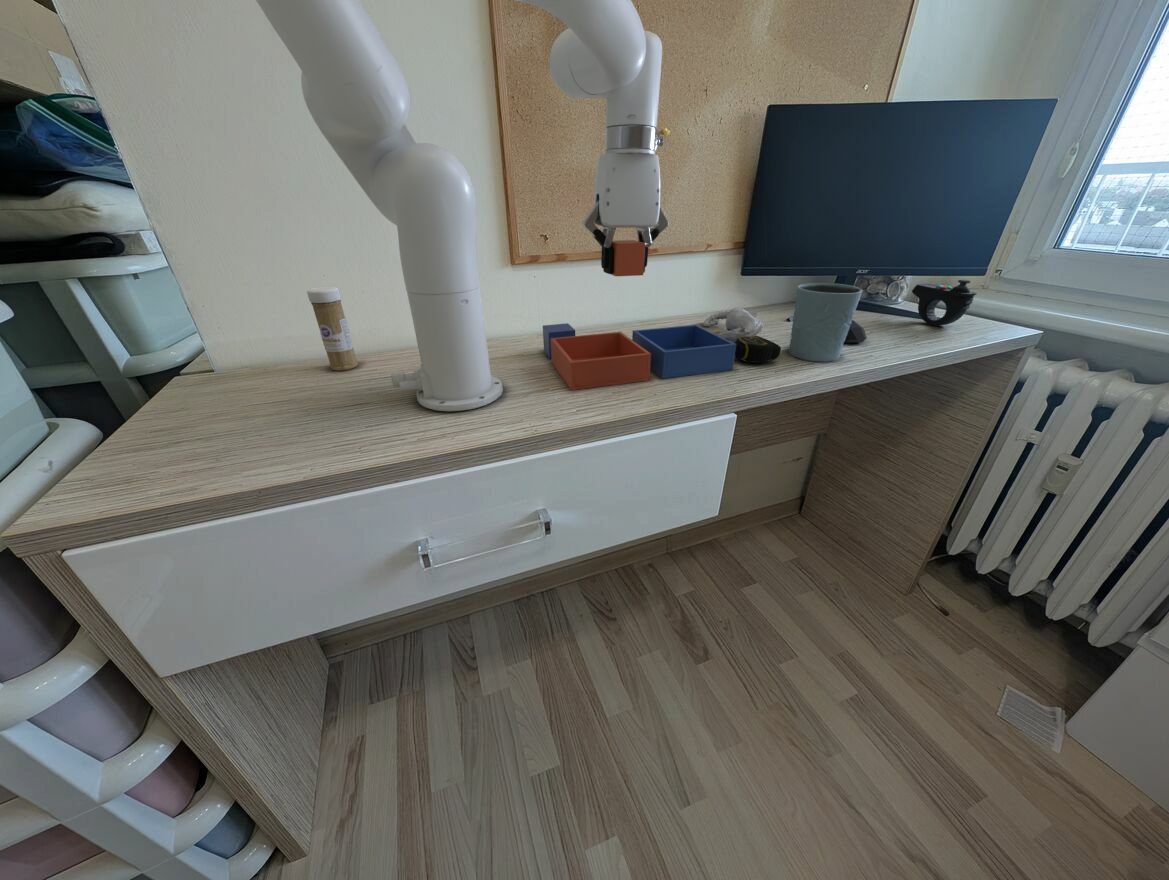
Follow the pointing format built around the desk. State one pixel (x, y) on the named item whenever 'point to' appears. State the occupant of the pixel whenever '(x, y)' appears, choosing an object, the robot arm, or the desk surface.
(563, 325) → the blue block
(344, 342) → the sprinkles bottle
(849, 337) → the gaming mouse
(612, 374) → the terracotta bin
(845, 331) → the grey-green cup
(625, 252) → the terracotta block
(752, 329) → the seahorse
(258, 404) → the desk surface
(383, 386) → the desk surface
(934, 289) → the controller
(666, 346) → the blue bin
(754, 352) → the tape measure
